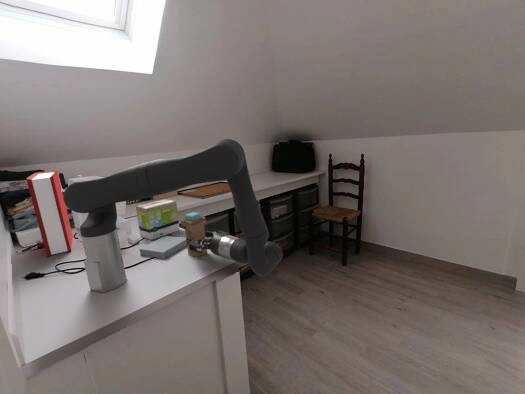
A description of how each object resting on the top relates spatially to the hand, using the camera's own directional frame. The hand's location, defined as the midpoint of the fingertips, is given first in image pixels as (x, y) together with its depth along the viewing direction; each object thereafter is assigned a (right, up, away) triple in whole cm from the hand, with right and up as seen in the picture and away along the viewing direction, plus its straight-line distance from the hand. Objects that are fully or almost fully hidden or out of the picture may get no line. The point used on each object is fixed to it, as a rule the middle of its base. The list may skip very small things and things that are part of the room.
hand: (196, 237), depth 100 cm
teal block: (-1, +6, -1) cm, 6 cm away
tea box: (-24, -2, +28) cm, 37 cm away
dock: (-15, -6, +9) cm, 18 cm away
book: (-66, -7, +22) cm, 70 cm away
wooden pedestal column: (0, -7, +2) cm, 7 cm away
